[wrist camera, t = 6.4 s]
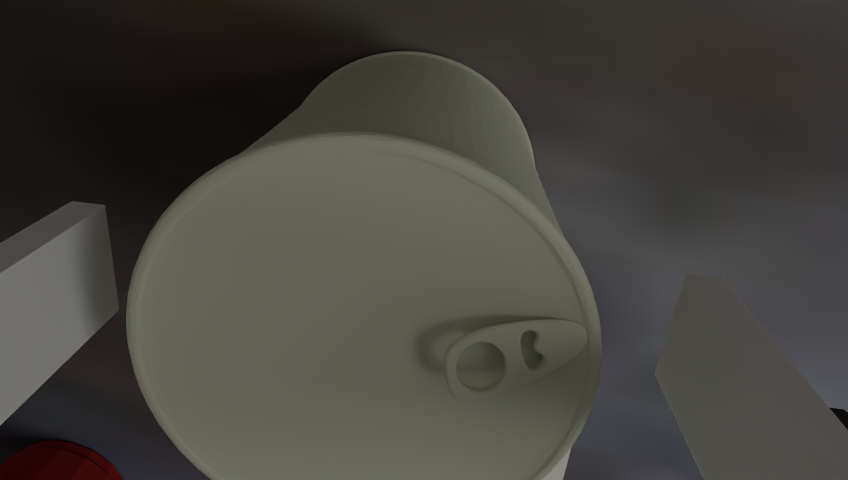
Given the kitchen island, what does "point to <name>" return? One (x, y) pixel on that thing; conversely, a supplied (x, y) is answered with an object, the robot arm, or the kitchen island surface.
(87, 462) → the plastic cup
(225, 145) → the kitchen island surface
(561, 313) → the can
